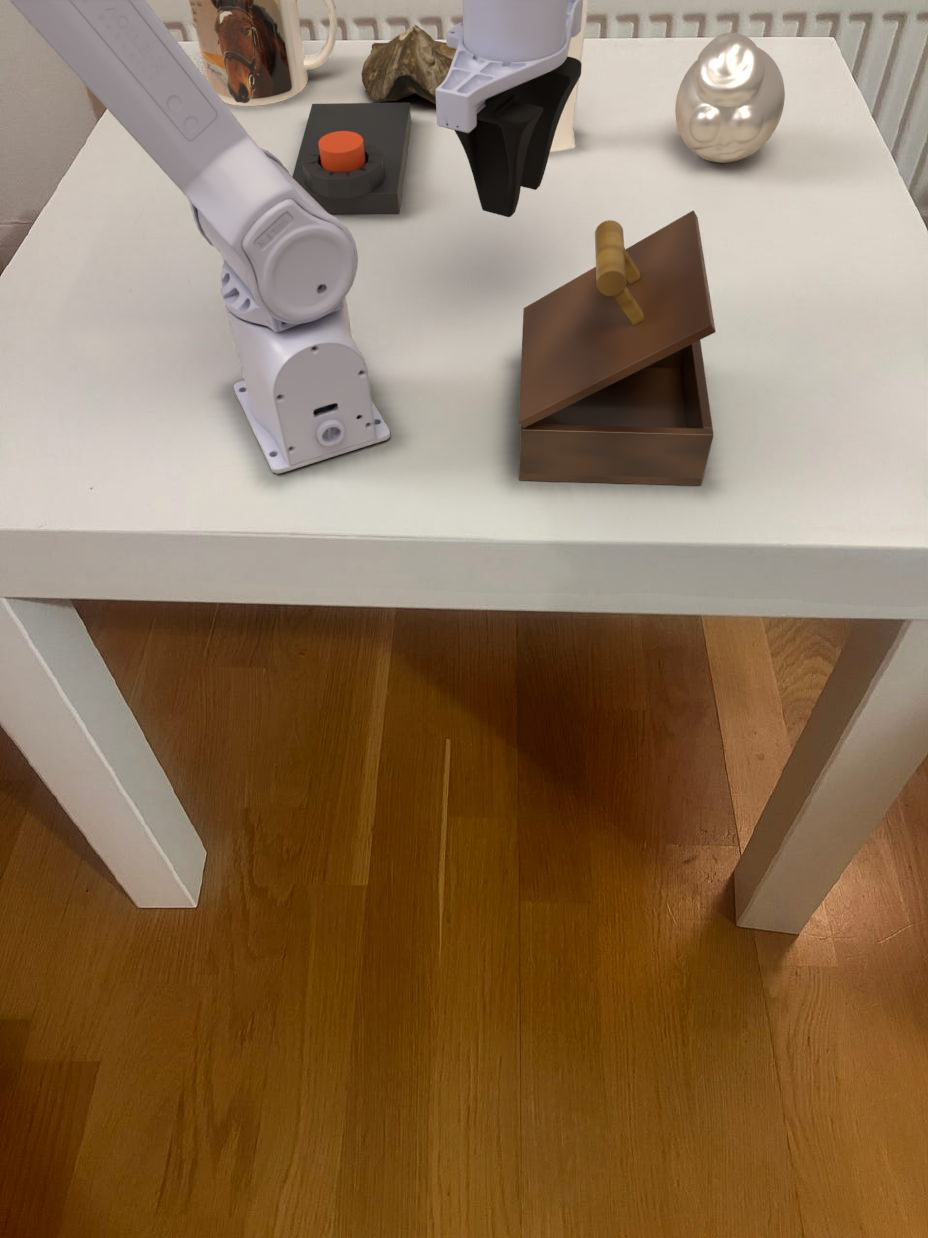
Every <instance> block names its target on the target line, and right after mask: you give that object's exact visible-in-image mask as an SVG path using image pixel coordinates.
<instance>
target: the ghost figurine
mask: <svg viewBox="0 0 928 1238" xmlns="http://www.w3.org/2000/svg"><path fill="white" fill-rule="evenodd" d="M785 97H786V93H785V83H784V78H783V74H782V72H781V70H780V68H779V66H778V64H777V63H776V62H775V60H774V59H773V57H772V56H771V55H769V53H767V52H766V51H765V50H763V49H762V48H761V47H759V46H757V44H756V43H755V42H754V41H753V40H752V39H751V38H749V37H748V36H746V35H744V34H742V33H738V32H725V33H722V34H720V35H717V36H716V37H714V38H713V39H712V40H711V41H710V42H708V44H707V45H706V46H705V47H703V49H702V50H701V51H700V53H699V54H698V57H697V59H696V60H695V61H694V62H693V64H692V65H691V66H690V67H689V69H688V70H687V72H686V73H685V75H684V77H683V78H682V79H681V82H680V85H679V88H678V90H677V94H676V98H675V107H674V109H675V110H674V112H675V121H676V122H675V123H676V127H677V130H678V132H679V135H680V138H681V139H682V140H683V142H684V144H685V145H686V146H687V147H688V149H689V150H690V151H691V152H693V153H694V154H695V155H696V156H698V157H700V158H701V159H703V160H707V161H709V162H713V163H719V164H722V163H723V164H725V163H732V162H733V163H734V162H737V161H740V160H743V159H745V158H748V157H749V156H751V155H753V154H754V153H756V152H757V151H758V150H760V149H761V148H762V147H763V146H764V145H765V144H766V143H767V142H768V141H769V139H770V138H771V137H772V136H773V134H774V133H775V131H776V129H777V128H778V125H779V123H780V121H781V118H782V114H783V112H784V107H785V100H786V99H785Z"/></svg>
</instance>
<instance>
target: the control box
mask: <svg viewBox="0 0 928 1238" xmlns="http://www.w3.org/2000/svg"><path fill="white" fill-rule="evenodd" d="M411 127H412V114H411V103H410V102H352V103H350V102H349V103H348V102H346V103H341V102H340V103H338V102H337V103H333V102H332V103H312V104H311V108H310V111H309V114H308V118H307V121H306V125H305V129H304V133H303V136H302V140H301V143H300V147H299V151H298V155H297V159H296V162H295V166H294V168H293V169H294V170H293V172H292V175H291V177H292V178H293V179H294V180H295V181H296V182H297V183H298V184H299V185H300V186H301V187H302V188H303V189H304V190H305V191H306V192H307V193H308V194H309V195H310V196H311V197H312V198H313V199H314V200H315V201H316V202H317V203H318V204H319V205H320V206H321V207H322V208H323V209H324V210H325V211H326V212H327V213H329V214H331V215H333V216H355V215H356V216H357V215H359V216H360V215H361V216H365V215H366V216H367V215H371V216H372V215H375V216H377V215H400V213H401V212H400V211H401V205H402V204H401V203H402V198H403V197H402V196H403V188H404V183H405V182H404V180H405V174H406V173H405V172H406V166H407V165H406V164H407V158H408V152H409V151H408V150H409V142H410V135H411ZM337 131H350V132H355V133H357V134H359V135H360V136H361V137H362V138H363V142H364V152H365V164H364V165H363V166H362V167H360V168H358V169H354V170H351V171H347V172H332V171H329V170H326V169H324V168H323V167H322V165H321V158H320V151H319V140H320V139H321V138H322V137H323V136H325V135H326V134H329V133H332V132H337Z"/></svg>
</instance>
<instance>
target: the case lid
mask: <svg viewBox="0 0 928 1238" xmlns="http://www.w3.org/2000/svg"><path fill="white" fill-rule="evenodd" d="M624 235H625V234H624V228H623V226H622V225H621V224H620V223H619V222H618V221H616V220H613V219H611V220H604V221H602V222H601V223H600V224H598V226H597V227H596V228H595V231H594V251H595V266H594V267H593V268H590V269H589V270H587V271H585V272H584V273H582V274H580V275H579V276H577V277H575V278H573V279H571V280H570V281H568V282H567V283H565V284H563V285H561V286H559V287H558V288H556V289H554V290H553V291H551V292H549V293H547V294H545V295H544V296H542V297H540V298H539V299H537V300H535V301H533V302H532V303H530V304H528V305H527V306H525V307H523V315H522V333H521V334H522V335H521V357H520V376H519V377H520V379H519V399H518V419H517V420H518V424H519V425H520V427H521V426H522V427H523V428H525V427H527V426H529V425H531V424H533V423H535V422H537V421H539V420H541V419H543V418H545V417H547V416H549V415H551V414H553V413H555V412H557V411H559V410H561V409H563V408H565V407H567V406H569V405H571V404H573V403H575V402H577V401H579V400H581V399H583V398H585V397H587V396H589V395H591V394H593V393H595V392H597V391H599V390H601V389H603V388H605V387H607V386H609V385H611V384H613V383H615V382H617V381H619V380H621V379H623V378H625V377H627V376H629V375H631V374H633V373H635V372H637V371H639V370H641V369H643V368H645V367H647V366H649V365H651V364H653V363H655V362H657V361H659V360H661V359H663V358H665V357H667V356H669V355H671V354H673V353H675V352H677V351H679V350H681V349H683V348H685V347H687V346H689V345H691V344H693V343H695V342H697V341H699V340H700V341H701V340H703V339H705V338H707V337H709V336H711V335H713V334H715V333H716V324H715V319H714V313H713V306H712V301H711V300H712V299H711V293H710V286H709V282H708V274H707V269H706V262H705V256H704V250H703V249H704V248H703V244H702V243H703V242H702V237H701V229H700V224H699V218H698V216H697V214H696V212H695V210H691V211H690V212H688V213H685V214H684V215H683V216H681V217H679V218H677V219H676V220H674V221H672V222H670V223H668V224H666V225H665V226H663V227H662V228H660V229H658V230H657V231H655V232H653V233H651V234H650V235H648V236H646V237H645V238H643V239H641V240H639V241H637V242H636V243H634V244H632V245H631V246H629V247H627V248H625V236H624Z"/></svg>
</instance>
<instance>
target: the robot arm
mask: <svg viewBox="0 0 928 1238" xmlns="http://www.w3.org/2000/svg"><path fill="white" fill-rule="evenodd" d="M8 1H9V2H10V3H11V5H12V6H13V7H15V9H16V10H17V11H18V12H19V13H20V15H22V16H23V18H25V20H26V21H27V22H28V23H29V24H30V25H31V27H32V28H33V29H34V30H35V31H36V32H37V33H38V34H39V35H40V37H42V39H43V40H44V41H45V42H46V43H47V44H48V46H49V47H50V48H51V49H52V50H53V51H54V52H55V53H56V54H57V55H58V56H59V57H60V58H61V60H62V61H63V62H64V63H65V64H66V65H67V66H68V67H69V69H70V70H71V71H72V72H73V73H74V75H76V76H77V78H79V80H80V81H81V82H82V83H83V84H84V85H85V87H87V89H88V90H90V92H91V93H92V94H93V95H94V96H95V97H96V98H97V100H98V101H99V103H101V104H102V105H103V106H104V107H105V108H106V109H107V111H108V112H109V113H110V114H111V115H112V116H113V117H114V118H115V120H116V121H118V123H119V124H120V125H121V126H122V127H123V128H124V129H125V130H126V131H127V133H128V134H129V135H130V136H131V137H132V139H133V140H135V142H136V143H137V144H138V145H139V146H140V147H141V148H142V149H143V151H144V152H146V153H147V155H148V156H149V157H150V158H151V159H152V160H153V162H154V163H155V164H156V165H157V166H158V167H159V169H161V171H162V172H164V174H165V175H166V176H167V177H168V178H169V179H170V180H171V181H172V183H173V184H174V185H175V186H176V187H177V188H178V189H179V191H181V193H182V194H183V195H184V196H185V197H186V199H187V200H188V202H189V207H190V210H191V214H192V218H193V221H194V224H195V226H196V228H197V230H198V231H199V233H200V235H201V236H202V237H203V238H204V239H205V240H206V241H207V243H208V244H209V245H210V246H212V247H213V248H215V250H216V251H217V252H218V253H219V255H220V256H221V258H222V261H223V263H222V267H221V277H220V282H221V283H220V284H221V285H220V286H221V287H220V292H221V296H222V300H223V303H224V307H225V311H226V314H227V318H228V323H229V326H230V330H231V334H232V339H233V342H234V346H235V350H236V354H237V357H238V362H239V365H240V368H241V372H242V376H243V380H239V381H237V382H235V383H234V385H233V390H234V393H235V395H236V397H237V399H238V402H239V404H240V407H241V408H242V411H243V412H244V415H245V417H246V419H247V422H248V424H249V425H250V428H251V430H252V432H253V434H254V436H255V438H256V440H257V442H258V444H259V446H260V449H261V451H262V453H263V455H264V457H265V460H266V461H267V463H268V467H269V468H270V470H271V472H272V473H274V474H283V473H287V472H290V471H292V470H296V469H299V468H302V467H306V466H309V465H311V464H315V463H318V462H321V461H324V460H327V459H330V458H333V457H337V456H340V455H343V454H346V453H347V454H348V453H350V452H352V451H355V450H360V449H361V448H362V449H363V448H365V447H369V446H370V445H374V444H378V443H382V442H385V441H387V440H389V439H390V437H391V429H390V428H389V426H388V425H387V423H386V421H385V420H384V418H383V416H382V415H381V413H380V411H379V410H378V408H377V407H376V405H375V403H374V401H373V400H372V395H371V387H370V379H369V372H368V371H369V370H368V367H367V363H366V360H365V358H364V355H363V354H362V352H361V351H360V349H359V347H358V345H357V344H356V341H355V340H354V338H353V336H352V330H351V323H350V322H351V321H350V315H349V307H348V302H347V296H348V294H349V292H350V291H351V289H352V286H353V284H354V282H355V279H356V277H357V272H358V264H359V255H358V248H357V244H356V241H355V239H354V237H353V235H352V233H351V231H350V230H349V228H348V227H347V226H346V225H345V224H344V223H343V222H342V221H341V220H340V219H339V218H338V217H336V215H331V214H329V213H327V212H326V211H325V210H324V209H323V208H322V207H321V206H320V205H319V204H318V203H317V202H316V201H315V200H314V199H313V198H312V197H311V196H310V195H309V194H308V193H307V192H306V191H305V190H304V189H303V188H302V187H301V186H300V185H299V184H298V183H297V182H296V181H295V180H294V179H293V178H292V175H291V174H290V172H289V170H288V169H287V168H286V166H285V165H284V164H283V163H282V162H281V160H280V159H279V158H278V157H277V156H276V155H274V154H273V153H272V152H270V151H269V150H267V149H264V148H262V147H260V146H259V145H258V144H257V142H255V140H254V139H253V138H252V137H251V135H250V134H249V133H248V131H246V130H245V128H244V127H243V125H242V124H241V122H240V121H239V120H238V118H237V117H236V116H235V115H234V113H233V112H232V111H231V110H230V108H229V107H228V105H227V103H225V102H223V101H222V99H221V98H220V97H219V95H218V94H217V93H216V91H215V90H214V89H213V88H212V86H211V85H210V84H209V82H208V81H207V78H206V76H205V75H204V74H203V73H202V72H201V71H200V69H199V67H197V65H196V64H195V63H194V61H193V60H192V59H191V58H190V55H188V54H187V52H186V51H185V50H184V48H183V47H182V46H181V44H180V43H179V42H178V40H177V39H176V38H175V37H174V35H173V34H172V33H171V31H170V30H169V28H168V27H167V26H166V25H165V24H164V22H163V21H162V20H161V18H160V17H159V16H158V14H157V13H156V12H155V10H154V9H153V8H152V7H151V5H150V4H149V2H148V1H147V0H8ZM582 8H583V0H462V22H459V23H456V24H455V25H454V26H453V27H451V28H450V29H449V30H447V32H446V34H445V37H446V38H445V39H446V43H447V46H448V47H450V48H454V49H457V50H456V53H455V55H454V58H453V61H452V64H451V66H450V69H449V72H448V74H447V76H446V78H445V80H444V81H443V83H442V84H441V85H440V86H439V87H437V88H436V89H435V91H436V104H435V107H436V108H435V110H436V111H435V113H436V125H437V127H439V128H445V129H448V130H453V131H454V132H455V134H456V136H457V138H458V140H459V142H460V144H461V146H462V148H463V150H464V153H465V156H466V158H467V161H468V164H469V167H470V171H471V174H472V177H473V181H474V185H475V189H476V192H477V197H478V200H479V203H480V206H481V209H482V211H483V212H487V213H491V214H494V215H497V216H501V217H507V218H511V217H512V216H513V215H514V214H515V213H516V210H517V207H518V204H519V199H520V194H521V188H526V189H530V190H533V191H537V190H538V188H540V186H541V184H542V181H543V178H544V175H545V172H546V168H547V165H548V160H549V156H550V153H551V152H550V149H551V146H552V142H553V138H554V135H555V131H556V128H557V125H558V122H559V119H560V117H561V114H562V112H563V109H564V107H565V104H566V102H567V100H568V98H569V96H570V94H571V92H572V90H573V88H574V86H575V85H576V83H577V81H578V80H579V81H580V78H581V75H582V67H583V66H582V61H581V62H580V61H579V60H578V59H576V58H572V57H568V51H569V46H570V40H571V37H575V36H576V35H577V34H579V33H580V32H581V22H582Z"/></svg>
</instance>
